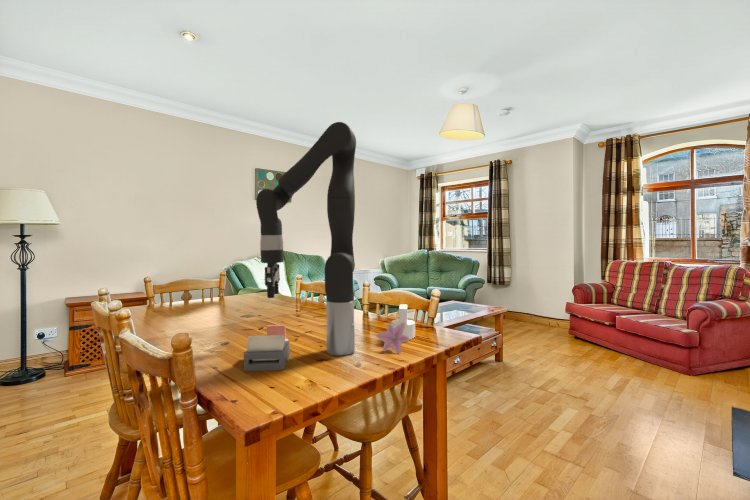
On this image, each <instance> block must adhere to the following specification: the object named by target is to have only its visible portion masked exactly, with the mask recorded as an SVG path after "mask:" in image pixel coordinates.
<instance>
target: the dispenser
mask: <svg viewBox="0 0 750 500" xmlns="http://www.w3.org/2000/svg"><path fill="white" fill-rule="evenodd" d="M290 356H291V348H290V340H288V341H285V336H284V335H269V336H267V335H249V336H248V338H247V342H246V351H245V352H244V354H243V371H244V372H262V371H263V372H264V371H265V372H266V371H267V372H268V371H270V372H271V371H284V370H285V367H286V365H287V363H288V360H289V358H290ZM252 359H279V360H263V361H252Z"/></svg>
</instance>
